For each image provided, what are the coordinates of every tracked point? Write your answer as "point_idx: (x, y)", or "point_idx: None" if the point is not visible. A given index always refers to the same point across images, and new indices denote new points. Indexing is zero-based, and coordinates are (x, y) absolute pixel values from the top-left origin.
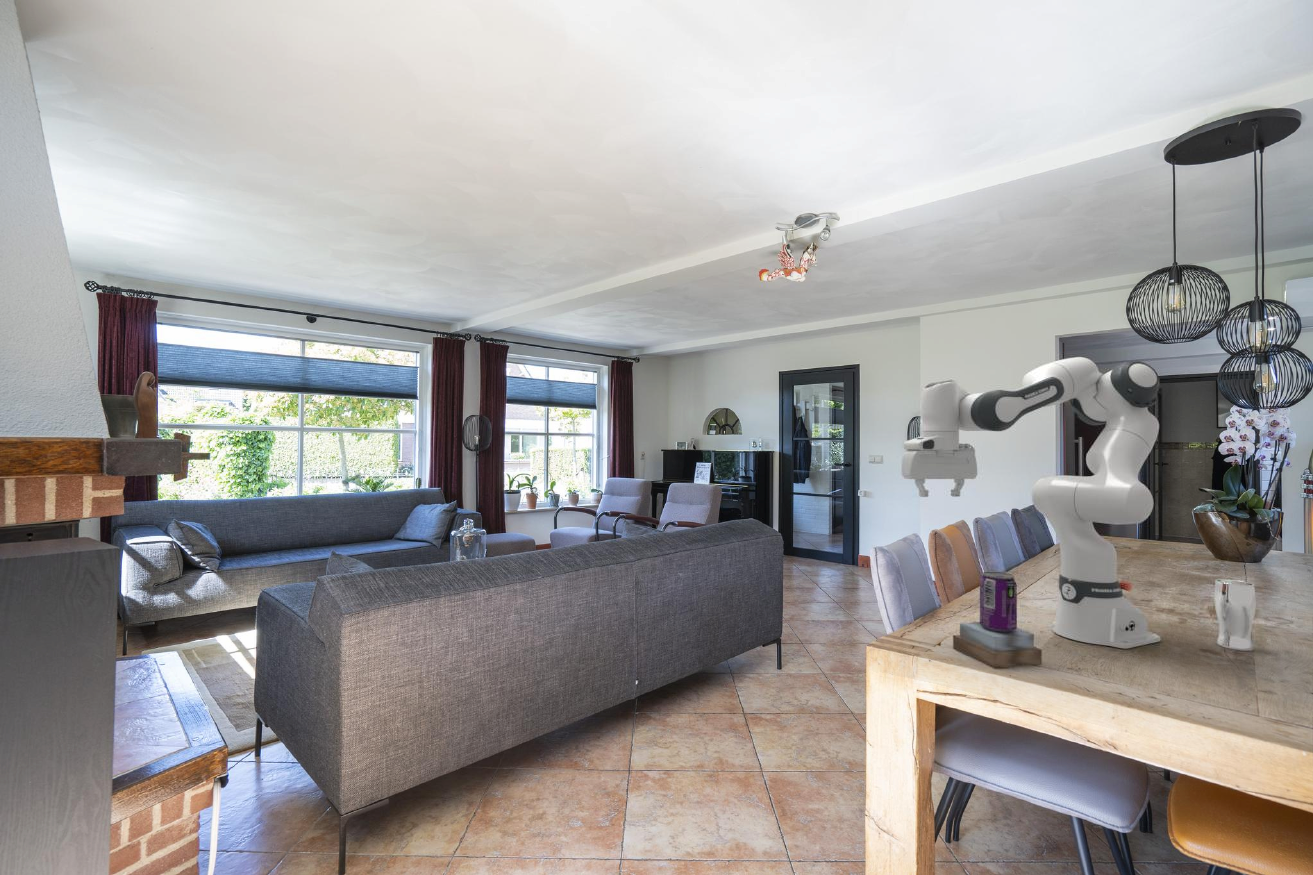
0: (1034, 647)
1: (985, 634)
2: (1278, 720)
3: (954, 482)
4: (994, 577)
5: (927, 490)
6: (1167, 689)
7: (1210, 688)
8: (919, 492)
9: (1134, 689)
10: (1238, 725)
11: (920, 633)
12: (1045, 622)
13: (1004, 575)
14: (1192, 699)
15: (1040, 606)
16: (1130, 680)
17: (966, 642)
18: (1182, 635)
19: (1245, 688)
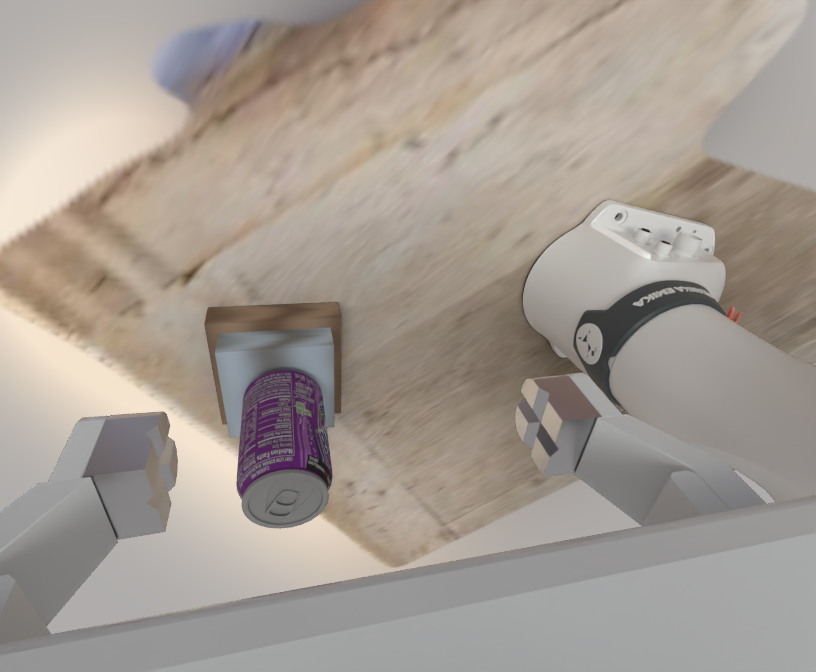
0: (336, 403)
1: (226, 417)
2: (450, 532)
3: (668, 480)
4: (252, 519)
5: (148, 532)
6: (429, 475)
7: (486, 474)
8: (65, 456)
9: (384, 475)
10: (395, 541)
11: (184, 187)
12: (609, 177)
13: (309, 495)
14: (424, 497)
15: (775, 26)
16: (413, 452)
17: (211, 361)
18: (737, 306)
19: (527, 474)
